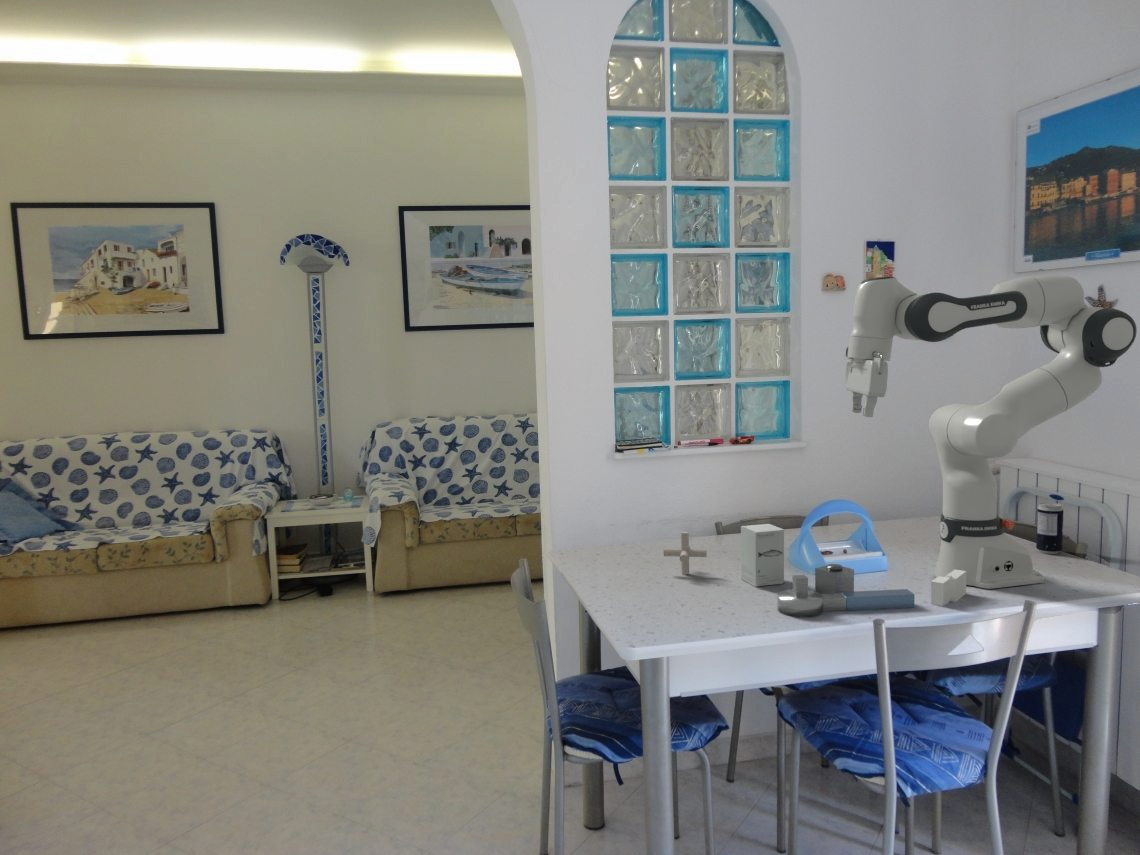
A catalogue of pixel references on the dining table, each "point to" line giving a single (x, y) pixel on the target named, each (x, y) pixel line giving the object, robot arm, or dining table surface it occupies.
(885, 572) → the dining table surface
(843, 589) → the dark grey block
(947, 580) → the notched white block
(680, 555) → the pipe connector
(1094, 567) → the dining table surface
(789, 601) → the ratchet
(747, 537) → the supplement box
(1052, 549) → the beverage can
